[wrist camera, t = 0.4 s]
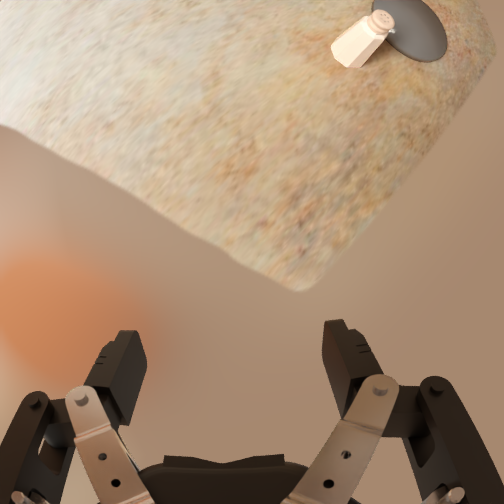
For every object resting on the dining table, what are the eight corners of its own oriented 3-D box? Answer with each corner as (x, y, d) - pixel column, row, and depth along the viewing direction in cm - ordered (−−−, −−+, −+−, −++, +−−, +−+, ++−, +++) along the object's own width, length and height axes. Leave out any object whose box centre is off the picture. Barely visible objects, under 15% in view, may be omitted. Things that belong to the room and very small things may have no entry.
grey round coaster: (361, -14, 32) (365, -19, 30) (428, 2, 33) (432, -1, 31) (384, 56, 34) (389, 52, 33) (450, 68, 35) (456, 66, 34)
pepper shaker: (332, 31, 33) (363, -7, 22) (367, 44, 34) (405, 12, 23) (327, 61, 34) (361, 26, 23) (364, 74, 35) (405, 45, 24)
